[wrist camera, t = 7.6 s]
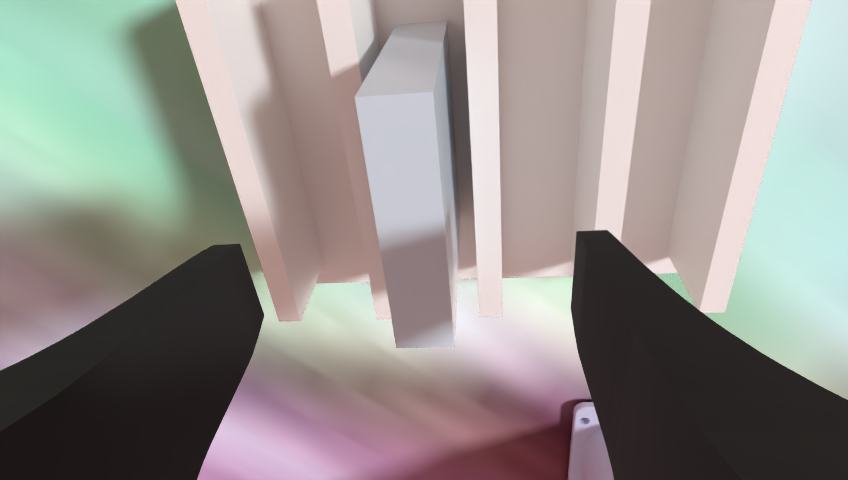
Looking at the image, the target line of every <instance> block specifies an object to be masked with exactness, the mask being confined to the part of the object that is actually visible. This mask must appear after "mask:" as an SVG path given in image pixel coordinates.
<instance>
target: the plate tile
mask: <svg viewBox="0 0 848 480" xmlns="http://www.w3.org/2000/svg"><path fill="white" fill-rule="evenodd" d="M355 103H356V109H357V115H358V121H359V127H360V133H361V139H362V145H363V151H364V157H365V163H366V169H367V175H368V181H369V187H370V192H371V198H372V204H373V210H374V216H375V222H376V228H377V234H378V240H379V246H380V252H381V258H382V264H383V270H384V276H385V282H386V288H387V294H388V300H389V306H390V312H391V318H392V324H393V330H394V336H395V342H396V348H431V347H455V329H456V304H457V279H458V254H459V228H460V208H459V192H458V177H457V162H456V146H455V131H454V115H453V100H452V85H451V69H450V54H449V39H448V23H447V21H437V22H425V23H413V24H401V25H396V26H395V28H394V30H393V31H392V33H391V35H390V37H389V38H388V40H387V42H386V44H385V45H384V47H383V49H382V50H381V52H380V54H379V56H378V57H377V59H376V61H375V63H374V64H373V66H372V68H371V70H370V71H369V73H368V75H367V76H366V78H365V80H364V82H363V83H362V85H361V87H360V89H359V90H358V92H357V94H356V96H355Z"/></svg>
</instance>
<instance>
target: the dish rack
mask: <svg viewBox="0 0 848 480" xmlns="http://www.w3.org/2000/svg"><path fill="white" fill-rule="evenodd" d="M175 1H176V4H177V7H178V10H179V13H180V16H181V19H182V22H183V25H184V29H185V32H186V35H187V38H188V41H189V44H190V47H191V50H192V53H193V56H194V59H195V63H196V66H197V69H198V72H199V75H200V78H201V81H202V84H203V87H204V90H205V93H206V97H207V100H208V103H209V106H210V109H211V112H212V115H213V118H214V121H215V124H216V127H217V131H218V134H219V137H220V140H221V143H222V146H223V149H224V152H225V155H226V158H227V161H228V165H229V168H230V171H231V174H232V177H233V180H234V183H235V186H236V189H237V192H238V195H239V199H240V202H241V205H242V208H243V211H244V214H245V217H246V220H247V223H248V226H249V229H250V233H251V236H252V239H253V242H254V245H255V248H256V251H257V254H258V257H259V260H260V263H261V267H262V270H263V273H264V276H265V279H266V282H267V285H268V288H269V291H270V294H271V297H272V301H273V304H274V307H275V310H276V313H277V316H278V319H279V321H301V319H302V316H303V314H304V311H305V309H306V306H307V304H308V301H309V299H310V296H311V294H312V291H313V289H314V286H315V284H316V283H346V282H370V284H371V290H372V295H373V300H374V305H375V311H376V316H377V319H392V318H391V312H390V306H389V300H388V294H387V288H386V282H385V276H384V270H383V264H382V258H381V252H380V246H379V240H378V234H377V228H376V222H375V216H374V210H373V204H372V198H371V192H370V187H369V181H368V175H367V169H366V163H365V157H364V151H363V145H362V139H361V133H360V127H359V121H358V115H357V109H356V103H355V96H356V94H357V92H358V90H359V89H360V87H361V85H362V83H363V82H364V80H365V78H366V76H367V75H368V73H369V71H370V70H371V68H372V66H373V64H374V63H375V61H376V59H377V57H378V56H379V54H380V52H381V50H382V49H383V47H384V45H385V44H386V42H387V40H388V38H389V37H390V35H391V33H392V31H393V30H394V28H395V26H396V25H401V24H413V23H425V22H437V21H447V23H448V39H449V54H450V69H451V85H452V100H453V115H454V131H455V146H456V162H457V177H458V192H459V208H460V228H459V254H458V279H478V297H479V317H503V295H502V278H518V277H553V276H573V273H574V259H575V245H576V231H593V230H608V231H609V232H610V233H611V234H612V235H614V236H615V237H616V238H617V239H618V240H619V241H620V242H621V243H622V244H623V245H624V246H625V247H626V248H627V249H628V250H629V251H630V252H631V253H632V254H634V255H635V256H636V257H637V258H638V259H639V260H640V261H641V262H642V263H643V264H644V265H645V266H646V267H647V268H649V269H650V270H651V271H652V272H653V273H654V274H656V273H678V275H679V276H680V278H681V280H682V282H683V284H684V286H685V288H686V289H687V291H688V293H689V295H690V297H691V299H692V301H693V302H694V304H695V306H696V308H697V309H698V310H699V311H701V312H702V313H712V312H725V310H726V306H727V303H728V299H729V295H730V292H731V288H732V285H733V281H734V277H735V274H736V270H737V267H738V263H739V260H740V256H741V252H742V249H743V245H744V242H745V238H746V235H747V231H748V227H749V224H750V220H751V217H752V213H753V209H754V206H755V202H756V199H757V195H758V192H759V188H760V184H761V181H762V177H763V174H764V170H765V166H766V163H767V159H768V156H769V152H770V149H771V145H772V141H773V138H774V134H775V131H776V127H777V123H778V120H779V116H780V113H781V109H782V106H783V102H784V98H785V95H786V91H787V88H788V84H789V80H790V77H791V73H792V70H793V66H794V63H795V59H796V55H797V52H798V48H799V45H800V41H801V38H802V34H803V30H804V27H805V23H806V20H807V16H808V12H809V9H810V5H811V2H812V0H175Z"/></svg>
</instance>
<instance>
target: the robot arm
mask: <svg viewBox="0 0 848 480" xmlns="http://www.w3.org/2000/svg"><path fill="white" fill-rule="evenodd" d="M571 312H572V319H573V325H574V331H575V337H576V343H577V349H578V353H579V357H580V360H581V364H582V367H583V370H584V374H585V377H586V381H587V384H588V387H589V391H590V394H591V397H592V401H593V402H582V403H579V404H577V405H576V406H575V407H574V412H573V423H572V435H571V446H570V458H569V469H568V480H848V400H846V399H844V398H842V397H840V396H839V395H837V394H835V393H833V392H831V391H829V390H827V389H825V388H823V387H821V386H819V385H817V384H815V383H814V382H812V381H810V380H808V379H806V378H805V377H803V376H801V375H799V374H797V373H795V372H794V371H792V370H790V369H788V368H786V367H785V366H783V365H781V364H779V363H778V362H776V361H774V360H773V359H771V358H769V357H768V356H766V355H764V354H762V353H761V352H759V351H758V350H756V349H755V348H753V347H752V346H750V345H748V344H747V343H745V342H744V341H742V340H741V339H739V338H738V337H736V336H735V335H733V334H731V333H730V332H728V331H727V330H725V329H724V328H723V327H721V326H720V325H718V324H717V323H715V322H714V321H713V320H711V319H710V318H709V317H707V316H706V315H705V314H703V313H702V312H701V311H699V310H698V309H697V308H695V307H694V306H693V305H692V304H690V303H689V302H688V301H686V300H685V299H684V298H683V297H681V296H680V295H679V294H678V293H676V292H675V291H674V290H673V289H672V288H670V287H669V286H668V285H667V284H666V283H664V282H663V281H662V280H661V279H660V278H659V277H658V276H656V275H655V274H654V273H653V272H652V271H651V270H650V269H649V268H647V267H646V266H645V265H644V264H643V263H642V262H641V261H640V260H639V259H638V258H637V257H636V256H635V255H634V254H632V253H631V252H630V251H629V250H628V249H627V248H626V247H625V246H624V245H623V244H622V243H621V242H620V241H619V240H618V239H617V238H616V237H615V236H614V235H612V234H611V233H610V232H609V231H608V230H593V231H576V245H575V259H574V273H573V287H572V301H571ZM263 318H264V313H263V310H262V307H261V304H260V301H259V298H258V296H257V293H256V290H255V287H254V284H253V281H252V278H251V275H250V272H249V269H248V266H247V263H246V260H245V257H244V254H243V251H242V248H241V246H240V244H228V245H213V246H211V247H209V248H207V249H205V250H204V251H202V252H200V253H199V254H197V255H195V256H194V257H192V258H191V259H189V260H187V261H186V262H184V263H183V264H181V265H180V266H178V267H177V268H175V269H174V270H172V271H171V272H169V273H168V274H166V275H165V276H163V277H162V278H160V279H159V280H157V281H156V282H154V283H153V284H151V285H150V286H148V287H147V288H145V289H144V290H142V291H141V292H139V293H138V294H136V295H135V296H133V297H132V298H130V299H129V300H127V301H125V302H124V303H122V304H120V305H119V306H117V307H116V308H114V309H112V310H111V311H109V312H108V313H106V314H104V315H103V316H101V317H100V318H98V319H96V320H95V321H93V322H91V323H90V324H88V325H87V326H85V327H83V328H82V329H80V330H78V331H76V332H75V333H73V334H71V335H69V336H68V337H66V338H64V339H62V340H60V341H59V342H57V343H55V344H53V345H51V346H49V347H47V348H45V349H43V350H41V351H40V352H38V353H36V354H34V355H32V356H30V357H28V358H26V359H24V360H22V361H20V362H18V363H16V364H14V365H12V366H9V367H7V368H5V369H3V370H1V371H0V480H197V478H198V475H199V472H200V469H201V466H202V464H203V461H204V459H205V457H206V454H207V452H208V449H209V447H210V445H211V442H212V440H213V438H214V436H215V434H216V432H217V430H218V428H219V426H220V423H221V421H222V419H223V417H224V415H225V413H226V411H227V409H228V407H229V404H230V402H231V400H232V398H233V396H234V394H235V392H236V390H237V388H238V385H239V383H240V381H241V379H242V377H243V375H244V372H245V370H246V368H247V366H248V364H249V361H250V359H251V357H252V354H253V351H254V348H255V345H256V342H257V339H258V336H259V332H260V328H261V325H262V321H263Z"/></svg>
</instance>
